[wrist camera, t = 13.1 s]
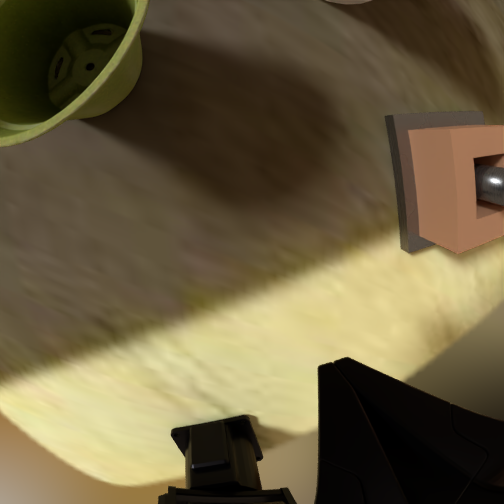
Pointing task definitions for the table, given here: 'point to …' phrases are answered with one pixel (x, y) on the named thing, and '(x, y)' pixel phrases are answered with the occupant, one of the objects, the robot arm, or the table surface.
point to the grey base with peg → (486, 177)
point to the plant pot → (65, 61)
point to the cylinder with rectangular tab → (349, 1)
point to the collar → (456, 184)
